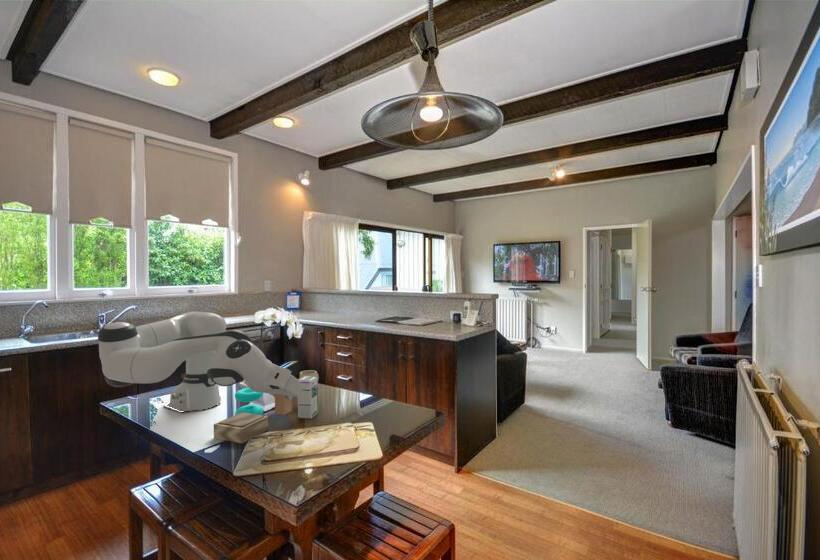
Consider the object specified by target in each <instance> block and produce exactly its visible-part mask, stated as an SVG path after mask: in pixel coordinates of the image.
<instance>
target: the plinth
mask: <svg viewBox="0 0 820 560" xmlns="http://www.w3.org/2000/svg"><path fill="white" fill-rule="evenodd" d="M268 430H269V415H264V414H262V415H256V414H249V413H243V412H241V413H239V414H236V415H235V414H234V415H232V416H230V417H227V418H225V419H222V420H220V421H218V422H216V423H214V424H213V439H216V440H220V441H221V440H222V441H227V442H233V443H238V444H244V443H247V442H248V441H249V440H251V439H254V438H255V437H258V436H259V435H261V434H263V433H265V432H266V431H268Z"/></svg>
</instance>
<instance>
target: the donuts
mask: <svg viewBox="0 0 820 560" xmlns="http://www.w3.org/2000/svg"><path fill="white" fill-rule="evenodd" d="M263 396H264V393H261V392H254V391H252V390H251V389H250V388H249V387H246V388H245V387H244V388H242V389H239V390H237V391H235V394H234V398H235V399H236V401H238V402H242V403H249V402H250V403H251V402H255V401H257V400H259V399H261V398H262V397H263ZM241 412H243V413H249V414H256V415H263V413H264V408H263V407H262V406H261V405H258V404H247V405H243V406H241V407H239V408H238V409H236V410H235V412H234V415H236V414H239V413H241Z"/></svg>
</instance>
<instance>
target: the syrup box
mask: <svg viewBox="0 0 820 560" xmlns="http://www.w3.org/2000/svg"><path fill="white" fill-rule="evenodd" d="M298 379H299V380H298ZM298 379H297V380H298V381H299V382H300V383H301V385H302V387H303V389H302V391H301V393H300V395H299V396H298V397H297V417H298V418H299V419H313V418H314V417H315V416H316V415H317V414H319V398H318V397H319V396H318V393H319V391H318V385H319V384H318V381H317V377H313V376H306V377H305V376H304V377H303V378H301V379H300V378H298Z"/></svg>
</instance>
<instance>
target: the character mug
mask: <svg viewBox="0 0 820 560" xmlns="http://www.w3.org/2000/svg"><path fill="white" fill-rule="evenodd" d="M304 376H305V377H306V376H313V377H317V382H319V373H318V371H316V370H314V369H313V370H311V369H310V370H309V369H308V370H302V371H300V372H299V378H298V379H297V380H299V379H301V378H303V377H304Z"/></svg>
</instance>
